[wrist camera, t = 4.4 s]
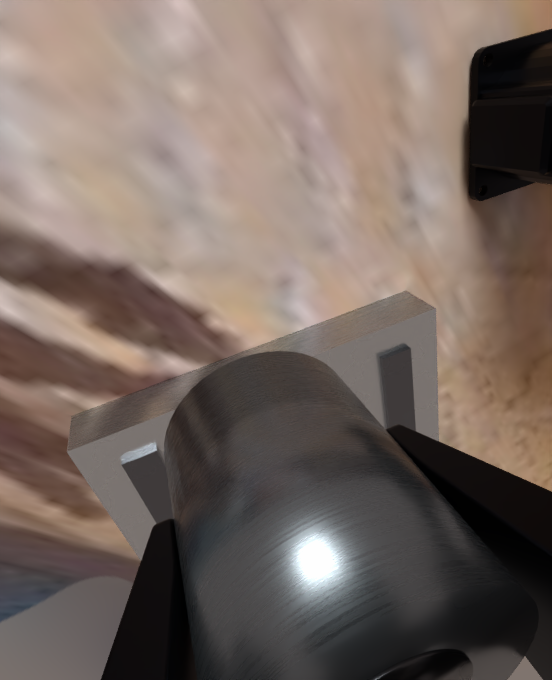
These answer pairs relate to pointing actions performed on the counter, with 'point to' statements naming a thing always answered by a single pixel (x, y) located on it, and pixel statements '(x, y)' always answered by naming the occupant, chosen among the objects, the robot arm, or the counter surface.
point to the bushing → (325, 540)
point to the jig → (316, 341)
